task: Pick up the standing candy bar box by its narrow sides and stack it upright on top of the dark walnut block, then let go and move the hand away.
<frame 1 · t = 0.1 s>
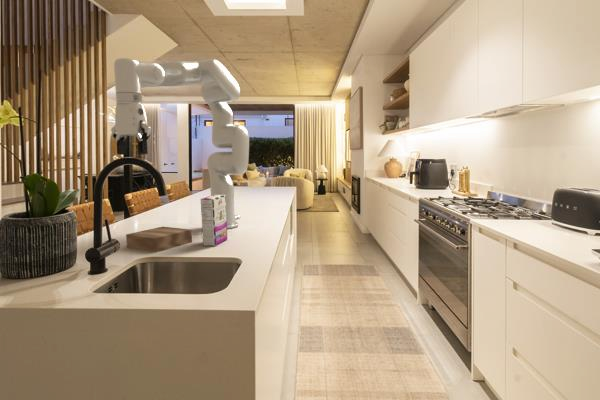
hand: (132, 154, 132), 31 cm above the countertop, fingers open, 9 cm apart
walnut block: (160, 246, 142), on the countertop
candy bar box: (215, 243, 145), on the countertop
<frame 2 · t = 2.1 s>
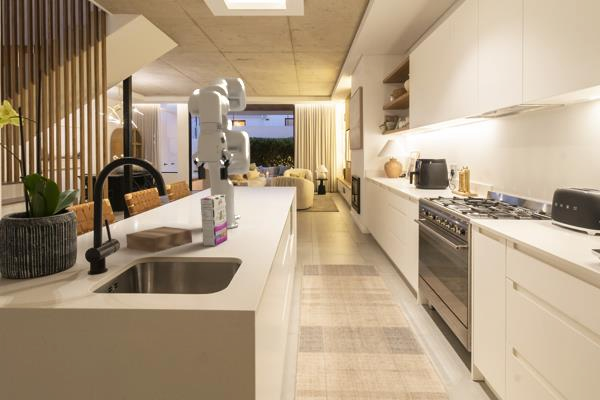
hand: (212, 179, 142), 22 cm above the countertop, fingers open, 9 cm apart
nothing on the countertop moved.
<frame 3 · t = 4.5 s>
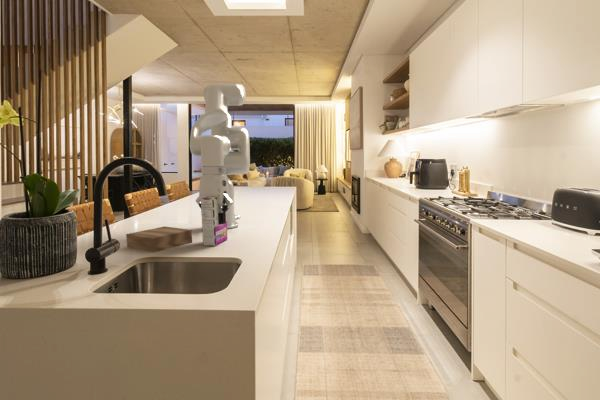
hand: (214, 222, 144), 7 cm above the countertop, fingers closed on candy bar box, 6 cm apart
candy bar box: (215, 243, 145), on the countertop, touching gripper
everything else where it was.
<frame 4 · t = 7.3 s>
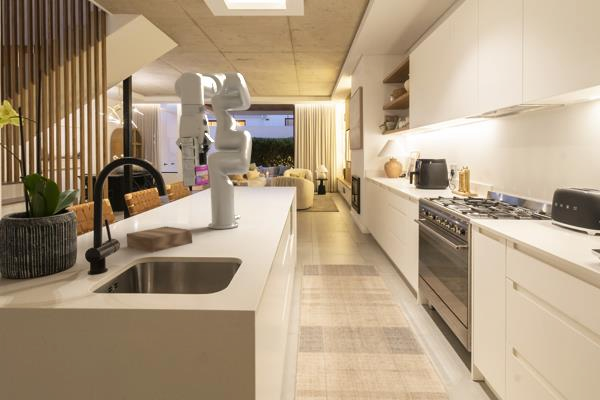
hand: (195, 164, 141), 27 cm above the countertop, fingers closed on candy bar box, 6 cm apart
candy bar box: (196, 185, 141), point 20 cm above the countertop, touching gripper
everything else where it was.
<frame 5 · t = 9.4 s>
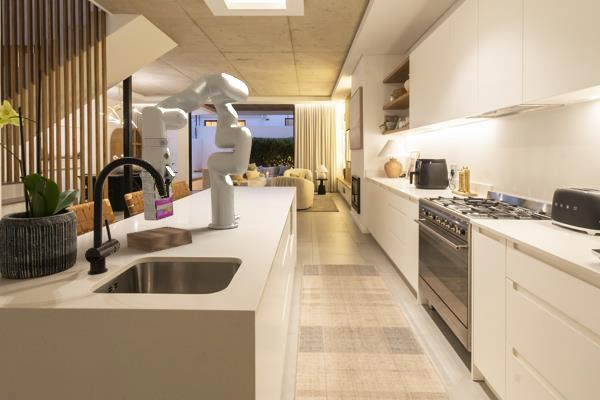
hand: (158, 197, 140), 17 cm above the countertop, fingers closed on candy bar box, 6 cm apart
candy bar box: (159, 218, 141), point 9 cm above the countertop, touching gripper
everything else where it was.
when the fingers open (13 cm above the countertop, at t = 10.5 s): candy bar box drops 2 cm, resting on walnut block.
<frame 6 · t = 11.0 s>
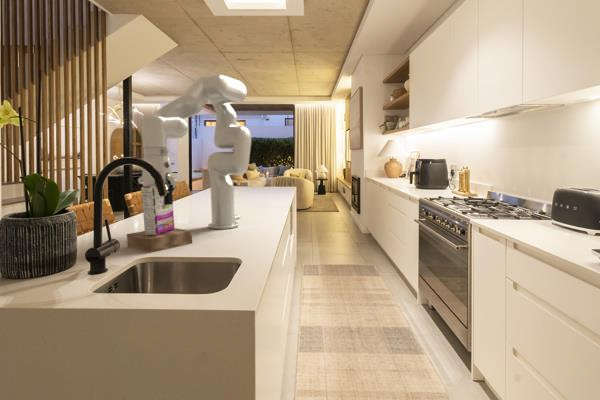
hand: (158, 203, 140), 14 cm above the countertop, fingers open, 9 cm apart
walnut block: (160, 246, 142), on the countertop, touching candy bar box
candy bar box: (159, 232, 142), point 4 cm above the countertop, touching walnut block
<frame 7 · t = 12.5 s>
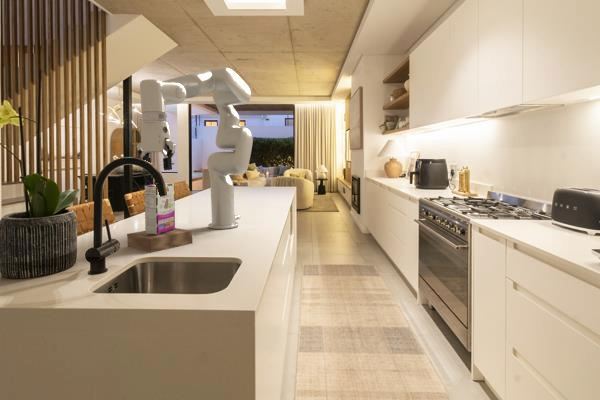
hand: (157, 169, 139), 26 cm above the countertop, fingers open, 9 cm apart
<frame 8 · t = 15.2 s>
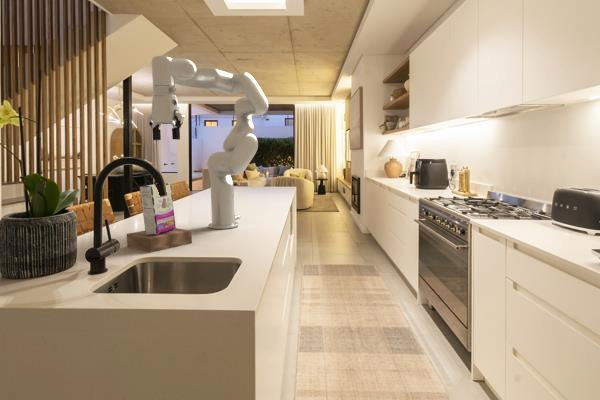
hand: (166, 139, 152), 36 cm above the countertop, fingers open, 9 cm apart
walnut block: (160, 246, 142), on the countertop
candy bar box: (160, 232, 141), point 4 cm above the countertop
at the end: candy bar box 0.6 cm off-centre on the walnut block, point 5.0 cm above the walnut block's base; candy bar box tilted 3°; the gripper is holding nothing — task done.
